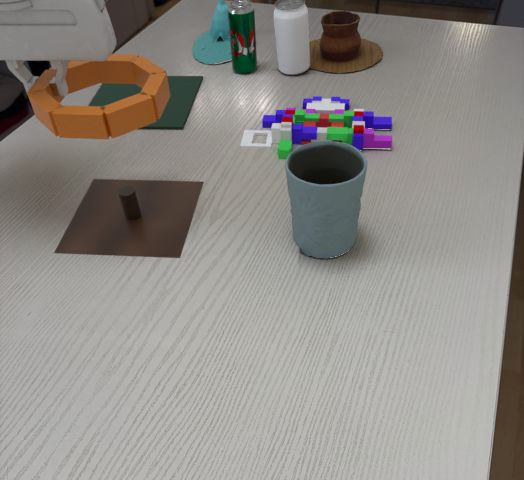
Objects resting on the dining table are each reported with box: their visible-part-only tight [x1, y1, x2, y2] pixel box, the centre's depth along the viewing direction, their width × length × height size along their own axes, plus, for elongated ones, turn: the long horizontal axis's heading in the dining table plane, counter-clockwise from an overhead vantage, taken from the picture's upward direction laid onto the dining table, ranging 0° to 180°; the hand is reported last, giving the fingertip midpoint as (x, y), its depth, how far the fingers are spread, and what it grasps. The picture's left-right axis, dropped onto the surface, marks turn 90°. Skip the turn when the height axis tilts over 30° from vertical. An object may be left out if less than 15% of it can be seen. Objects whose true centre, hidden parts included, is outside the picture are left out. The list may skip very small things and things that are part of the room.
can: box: [273, 0, 310, 76], centre depth 105 cm, size 6×6×12 cm
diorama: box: [191, 0, 232, 65], centre depth 116 cm, size 12×20×9 cm, turn 173°
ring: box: [27, 53, 170, 140], centre depth 68 cm, size 16×16×3 cm
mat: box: [87, 75, 204, 130], centre depth 104 cm, size 20×20×1 cm
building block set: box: [239, 95, 393, 160], centre depth 92 cm, size 25×20×4 cm
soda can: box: [228, 0, 258, 75], centre depth 106 cm, size 5×5×12 cm
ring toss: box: [54, 178, 205, 259], centre depth 79 cm, size 18×18×5 cm
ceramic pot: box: [308, 10, 384, 75], centre depth 111 cm, size 18×18×7 cm
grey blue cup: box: [284, 141, 368, 258], centre depth 71 cm, size 10×10×12 cm
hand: (48, 93), depth 69 cm, fingers closed on ring, 2 cm apart
